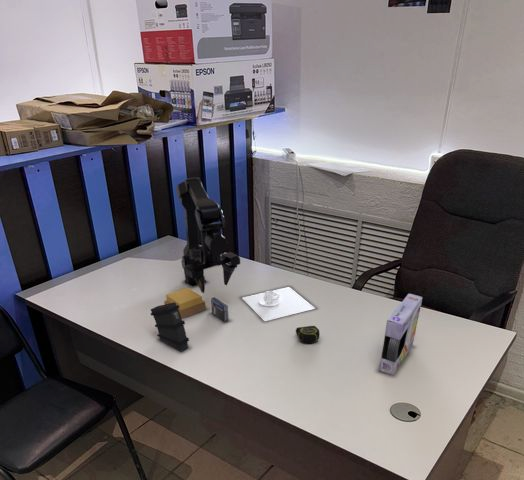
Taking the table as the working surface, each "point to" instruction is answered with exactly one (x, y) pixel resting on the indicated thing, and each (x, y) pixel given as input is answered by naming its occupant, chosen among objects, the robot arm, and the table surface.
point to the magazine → (170, 326)
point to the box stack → (186, 301)
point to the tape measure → (308, 334)
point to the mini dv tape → (219, 309)
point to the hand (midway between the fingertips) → (214, 288)
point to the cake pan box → (400, 333)
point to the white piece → (277, 303)
